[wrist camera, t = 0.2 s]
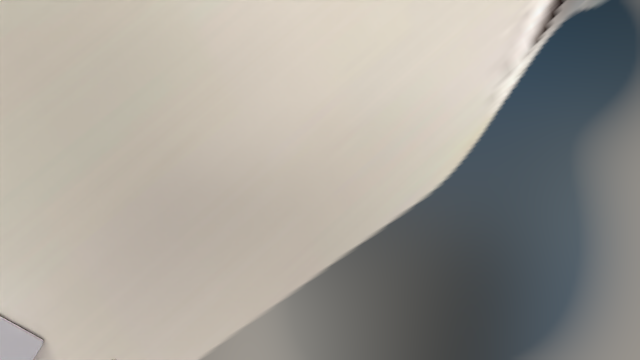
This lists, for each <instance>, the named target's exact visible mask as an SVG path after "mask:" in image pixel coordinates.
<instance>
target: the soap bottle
mask: <svg viewBox="0 0 640 360" xmlns="http://www.w3.org/2000/svg"><path fill="white" fill-rule="evenodd" d="M42 344H43V339H41V338H39V337H37V336H35V335H33V334H32V333H30V332H28V331H26V330H24V329H23V328H21V327H19V326H17V325H15V324H14V323H12V322H10V321H8V320H6V319H5V318H3V317H1V316H0V360H34V358H35V356H36V355H37V353H38V351H39V350H40V348H41V346H42Z"/></svg>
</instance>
